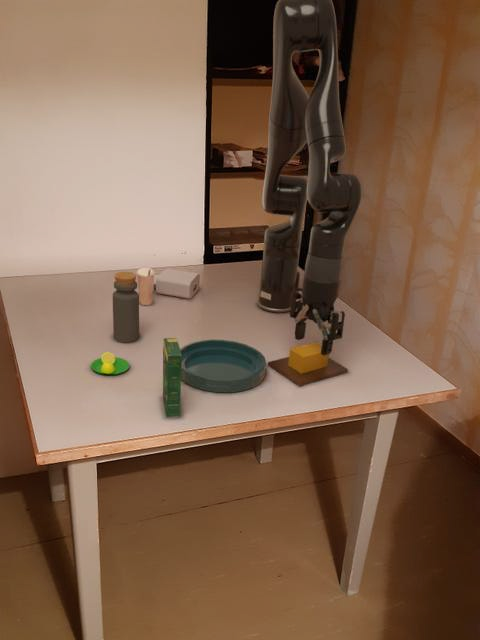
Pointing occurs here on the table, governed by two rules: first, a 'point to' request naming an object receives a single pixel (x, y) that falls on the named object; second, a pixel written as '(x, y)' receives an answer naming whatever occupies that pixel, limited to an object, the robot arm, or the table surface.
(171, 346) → the coffee box
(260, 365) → the teal plate
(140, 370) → the table surface
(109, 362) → the lemons on green plate
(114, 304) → the bottle
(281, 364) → the board
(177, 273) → the charger
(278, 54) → the robot arm
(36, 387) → the table surface
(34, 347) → the table surface
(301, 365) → the block
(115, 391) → the table surface
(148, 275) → the milkshake
